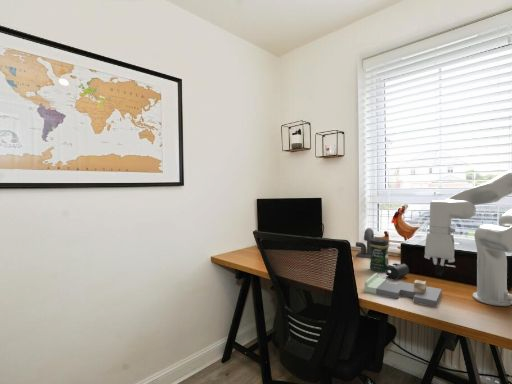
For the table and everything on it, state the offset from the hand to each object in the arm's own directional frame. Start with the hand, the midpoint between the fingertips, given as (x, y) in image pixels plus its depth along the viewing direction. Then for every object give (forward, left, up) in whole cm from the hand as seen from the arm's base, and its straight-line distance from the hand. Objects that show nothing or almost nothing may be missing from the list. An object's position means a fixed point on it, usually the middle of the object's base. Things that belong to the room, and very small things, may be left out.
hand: (438, 273), depth 119 cm
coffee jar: (+32, -28, -12) cm, 44 cm away
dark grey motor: (+21, -21, -12) cm, 32 cm away
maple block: (+7, 0, -9) cm, 11 cm away
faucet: (+45, -51, -12) cm, 69 cm away
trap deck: (+14, 0, -11) cm, 18 cm away
